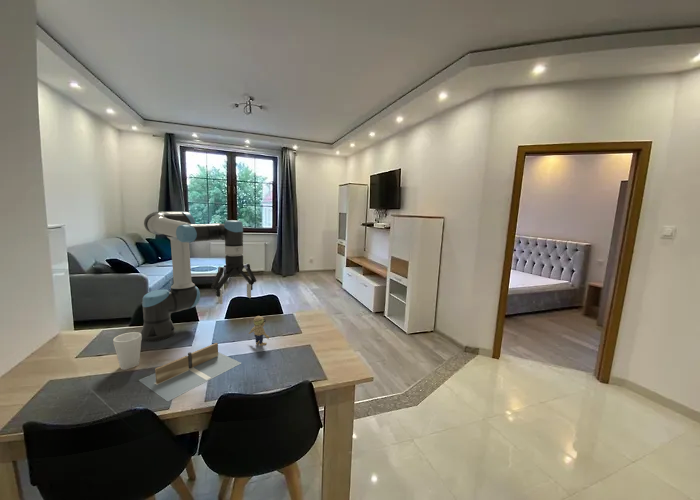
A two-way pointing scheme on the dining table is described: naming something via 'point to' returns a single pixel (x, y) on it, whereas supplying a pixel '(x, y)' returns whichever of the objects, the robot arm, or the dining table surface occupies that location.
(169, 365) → the fixed panel
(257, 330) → the toy
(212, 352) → the hinged panel
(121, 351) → the foam cup
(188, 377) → the card
